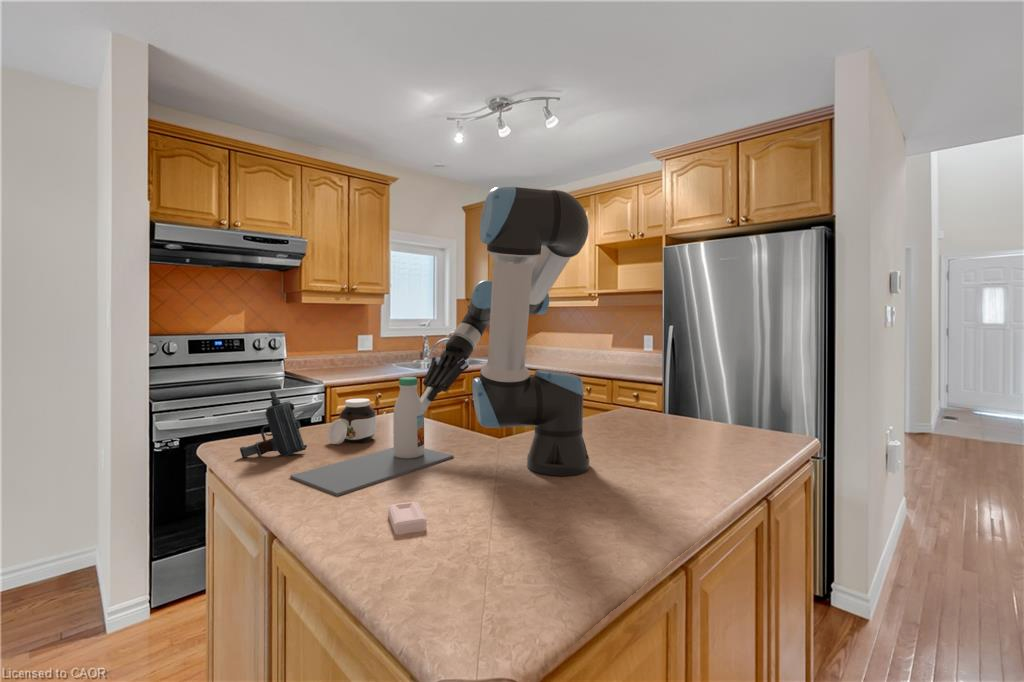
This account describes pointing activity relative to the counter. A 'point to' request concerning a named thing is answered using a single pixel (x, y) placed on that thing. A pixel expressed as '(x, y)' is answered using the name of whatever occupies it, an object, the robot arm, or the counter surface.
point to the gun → (278, 431)
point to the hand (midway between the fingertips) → (419, 409)
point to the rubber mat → (366, 470)
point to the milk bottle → (408, 421)
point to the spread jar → (354, 423)
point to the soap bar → (406, 518)
